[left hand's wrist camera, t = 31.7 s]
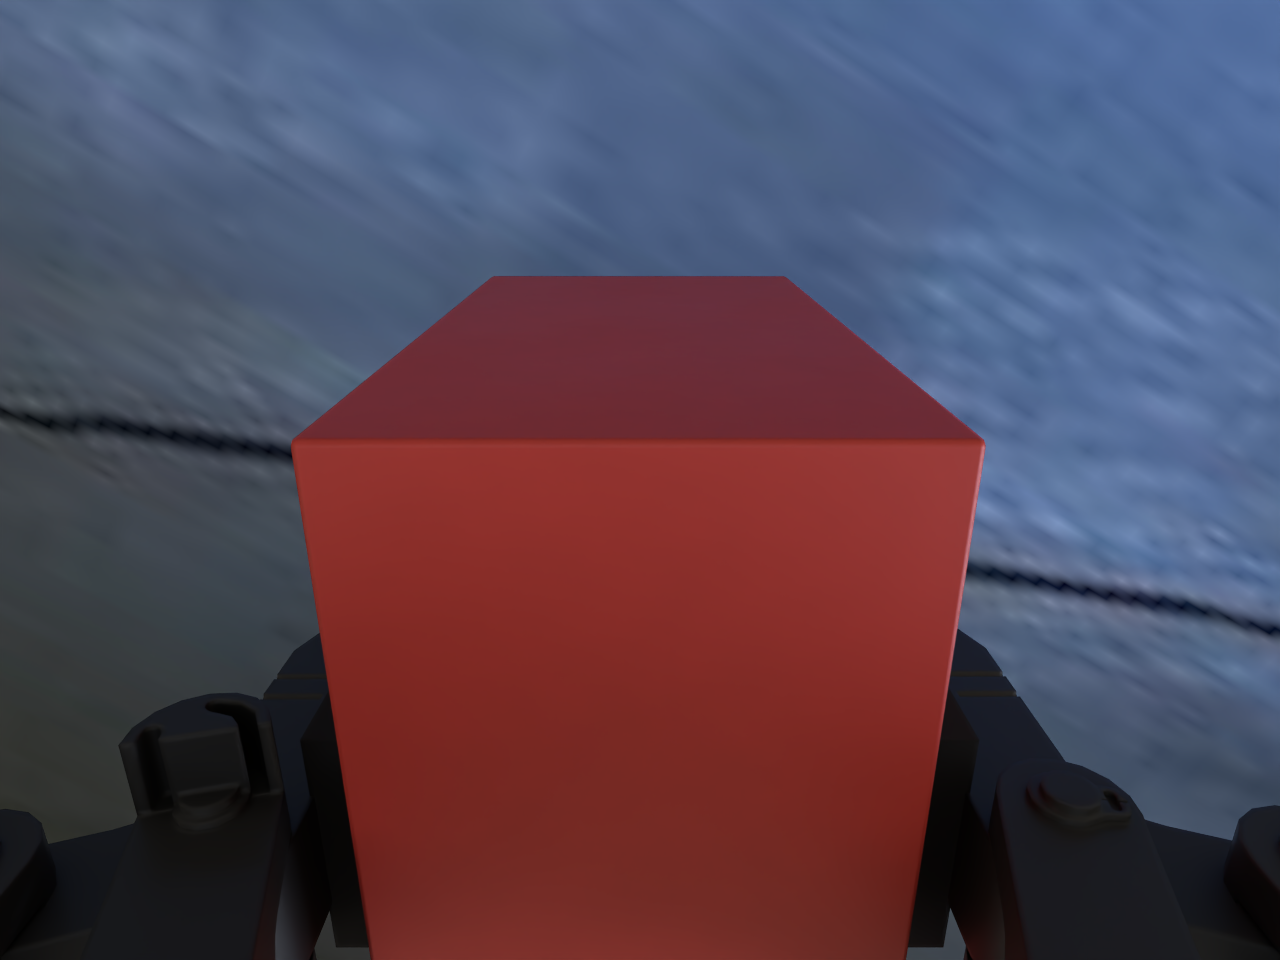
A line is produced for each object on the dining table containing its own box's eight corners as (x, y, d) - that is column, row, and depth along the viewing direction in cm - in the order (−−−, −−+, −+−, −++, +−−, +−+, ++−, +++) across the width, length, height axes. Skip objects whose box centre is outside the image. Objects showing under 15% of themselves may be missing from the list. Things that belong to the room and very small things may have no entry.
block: (787, 275, 14) (990, 439, 6) (759, 720, 18) (866, 1224, 9) (490, 275, 14) (286, 439, 6) (518, 720, 18) (410, 1224, 9)
